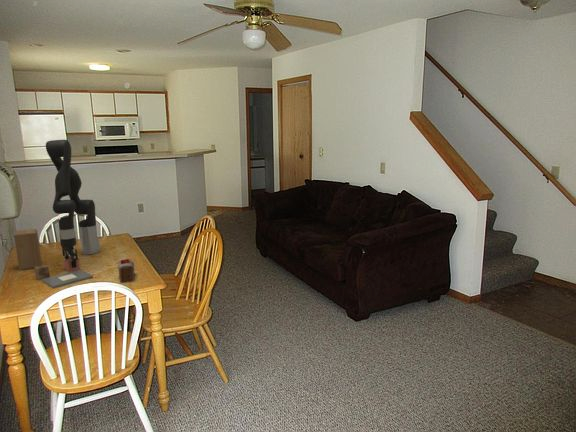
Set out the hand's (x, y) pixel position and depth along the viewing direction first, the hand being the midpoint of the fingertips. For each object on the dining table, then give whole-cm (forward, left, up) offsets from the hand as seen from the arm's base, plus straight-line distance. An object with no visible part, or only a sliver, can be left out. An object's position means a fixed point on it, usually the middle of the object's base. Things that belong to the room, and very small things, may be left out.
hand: (71, 265), depth 224 cm
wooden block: (+13, -24, -3) cm, 27 cm away
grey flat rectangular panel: (+7, +13, -2) cm, 15 cm away
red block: (0, 0, -2) cm, 2 cm away
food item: (-14, +34, -3) cm, 37 cm away
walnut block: (+15, +1, -2) cm, 15 cm away
